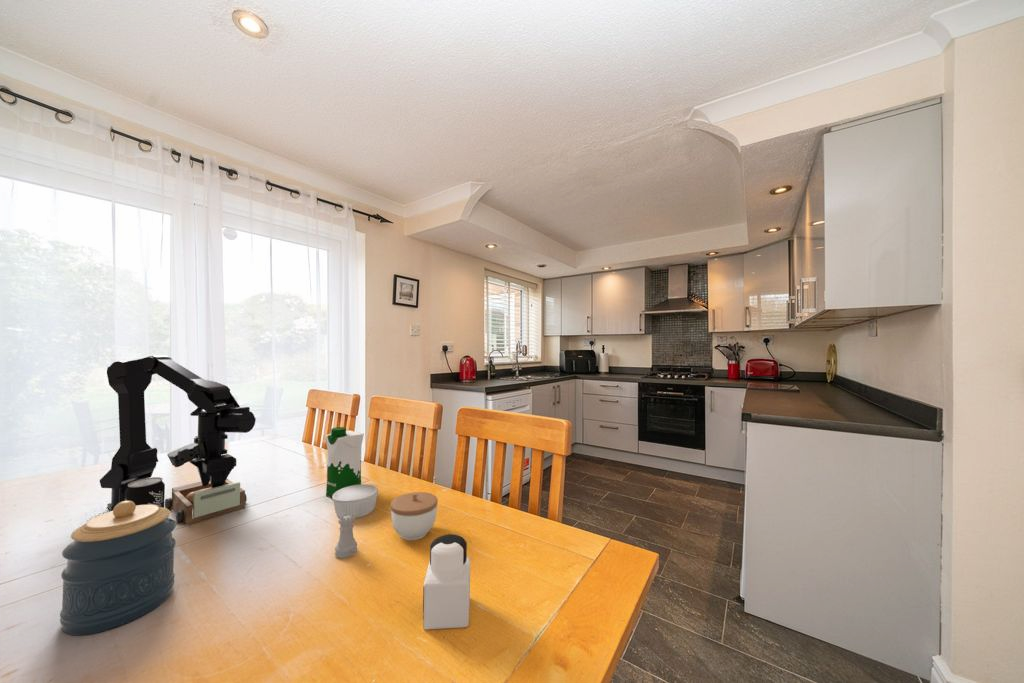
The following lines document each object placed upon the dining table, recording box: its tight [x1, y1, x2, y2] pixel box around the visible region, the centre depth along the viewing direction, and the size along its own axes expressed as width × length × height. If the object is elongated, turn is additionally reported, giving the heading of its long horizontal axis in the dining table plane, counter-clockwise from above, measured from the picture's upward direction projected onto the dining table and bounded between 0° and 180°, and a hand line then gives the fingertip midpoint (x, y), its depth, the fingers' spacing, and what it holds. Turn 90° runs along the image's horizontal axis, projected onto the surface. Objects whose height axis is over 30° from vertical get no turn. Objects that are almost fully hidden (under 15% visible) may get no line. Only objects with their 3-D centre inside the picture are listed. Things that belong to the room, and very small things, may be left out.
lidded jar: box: [390, 491, 438, 541], centre depth 85 cm, size 11×11×9 cm
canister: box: [59, 501, 177, 636], centre depth 60 cm, size 13×13×18 cm
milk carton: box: [325, 426, 365, 498], centre depth 107 cm, size 9×9×20 cm
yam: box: [186, 487, 212, 504], centre depth 99 cm, size 3×8×3 cm, turn 144°
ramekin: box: [331, 483, 379, 519], centre depth 96 cm, size 11×11×5 cm
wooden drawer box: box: [164, 478, 248, 525], centre depth 98 cm, size 18×14×4 cm
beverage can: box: [125, 476, 166, 508], centre depth 84 cm, size 7×7×12 cm
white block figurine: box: [422, 533, 471, 631], centre depth 60 cm, size 7×7×12 cm
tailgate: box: [193, 481, 241, 518], centre depth 93 cm, size 1×9×6 cm, turn 144°
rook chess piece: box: [334, 513, 358, 560], centre depth 76 cm, size 4×4×8 cm
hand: (210, 489), depth 97 cm, fingers open, 9 cm apart
